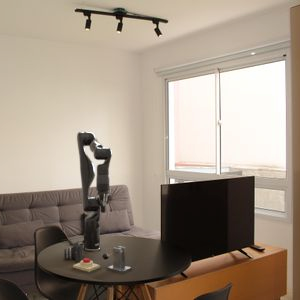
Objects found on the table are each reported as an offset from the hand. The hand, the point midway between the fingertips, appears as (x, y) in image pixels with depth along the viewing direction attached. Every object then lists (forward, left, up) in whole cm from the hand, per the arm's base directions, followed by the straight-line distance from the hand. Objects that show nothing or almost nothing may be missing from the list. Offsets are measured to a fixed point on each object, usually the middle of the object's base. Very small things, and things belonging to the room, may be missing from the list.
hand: (103, 212), depth 222 cm
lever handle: (+14, -10, -21) cm, 27 cm away
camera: (-13, -11, -27) cm, 32 cm away
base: (+18, -10, -27) cm, 34 cm away
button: (+4, -20, -23) cm, 31 cm away
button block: (+4, -20, -27) cm, 34 cm away
